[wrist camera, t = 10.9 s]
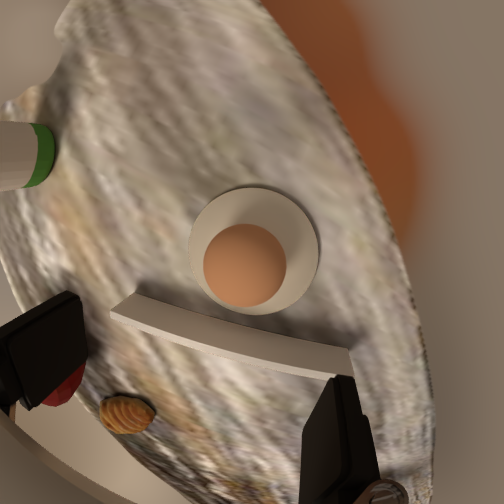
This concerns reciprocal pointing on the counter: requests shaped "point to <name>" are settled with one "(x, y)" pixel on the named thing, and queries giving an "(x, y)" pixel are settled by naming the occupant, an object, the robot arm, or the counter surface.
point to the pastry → (125, 414)
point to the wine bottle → (24, 154)
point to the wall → (233, 339)
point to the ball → (244, 265)
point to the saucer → (273, 220)
